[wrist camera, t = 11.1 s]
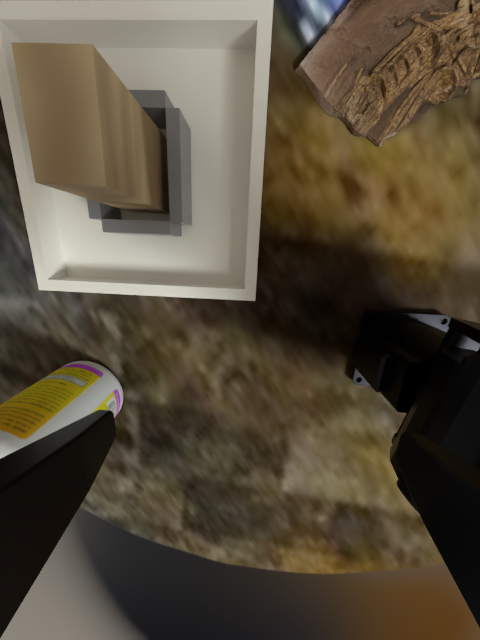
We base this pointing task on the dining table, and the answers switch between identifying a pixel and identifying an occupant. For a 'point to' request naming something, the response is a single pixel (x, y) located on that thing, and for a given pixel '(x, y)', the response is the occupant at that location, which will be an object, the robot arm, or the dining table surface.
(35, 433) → the supplement bottle
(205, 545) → the dining table surface
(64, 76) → the pine wood block
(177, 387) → the dining table surface
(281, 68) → the dining table surface
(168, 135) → the ceramic dish
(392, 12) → the wooden fragment
